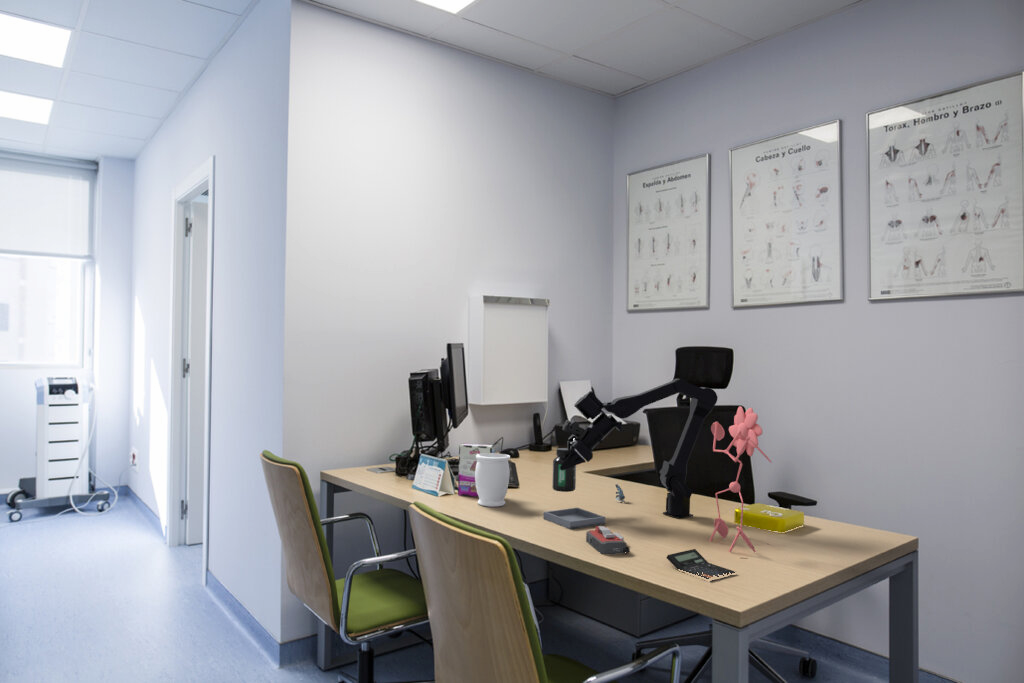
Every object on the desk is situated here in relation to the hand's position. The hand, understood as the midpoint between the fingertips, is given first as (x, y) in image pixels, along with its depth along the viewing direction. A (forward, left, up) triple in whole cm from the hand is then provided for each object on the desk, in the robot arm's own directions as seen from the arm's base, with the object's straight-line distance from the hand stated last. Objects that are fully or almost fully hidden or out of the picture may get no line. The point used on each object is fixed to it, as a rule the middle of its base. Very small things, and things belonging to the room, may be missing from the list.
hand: (559, 467), depth 194 cm
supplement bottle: (-1, -1, -7) cm, 7 cm away
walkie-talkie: (-31, +9, -14) cm, 35 cm away
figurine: (-49, -21, -13) cm, 55 cm away
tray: (-11, +3, -13) cm, 17 cm away
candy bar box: (+30, +11, -13) cm, 35 cm away
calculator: (-57, +4, -14) cm, 59 cm away
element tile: (-38, -47, -14) cm, 62 cm away
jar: (+17, +13, -13) cm, 25 cm away
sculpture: (+3, -27, -14) cm, 31 cm away
